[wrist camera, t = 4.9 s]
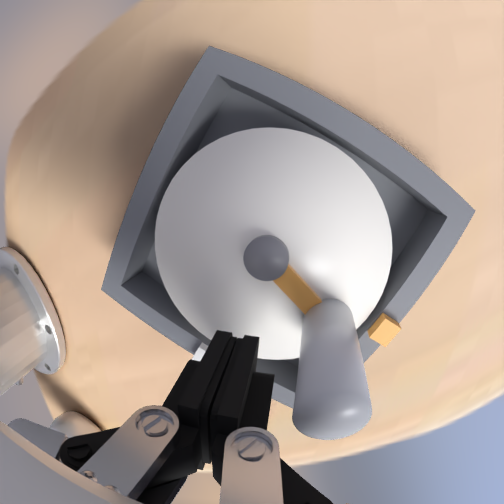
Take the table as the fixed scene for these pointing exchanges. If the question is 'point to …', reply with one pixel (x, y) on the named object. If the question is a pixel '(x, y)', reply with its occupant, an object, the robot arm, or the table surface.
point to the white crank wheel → (281, 261)
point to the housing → (304, 120)
